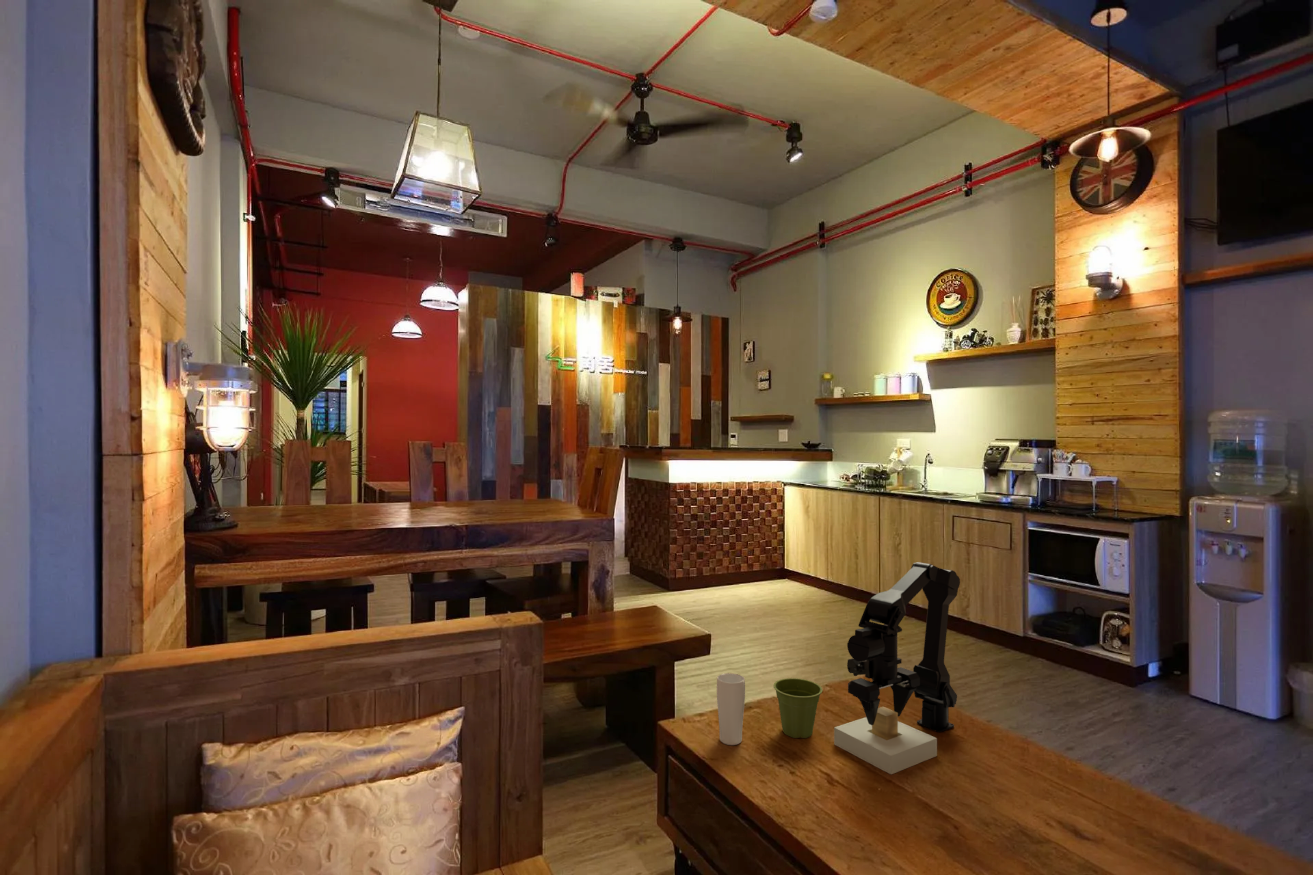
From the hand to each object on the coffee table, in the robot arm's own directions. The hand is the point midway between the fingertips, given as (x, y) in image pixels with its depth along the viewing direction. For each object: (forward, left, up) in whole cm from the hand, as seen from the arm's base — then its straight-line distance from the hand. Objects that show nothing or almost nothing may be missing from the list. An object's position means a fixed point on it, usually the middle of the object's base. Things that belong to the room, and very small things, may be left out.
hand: (884, 720), depth 146 cm
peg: (0, 0, -7) cm, 7 cm away
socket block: (0, 0, -7) cm, 7 cm away
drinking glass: (+28, -22, -7) cm, 36 cm away
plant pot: (+11, -17, -7) cm, 21 cm away
